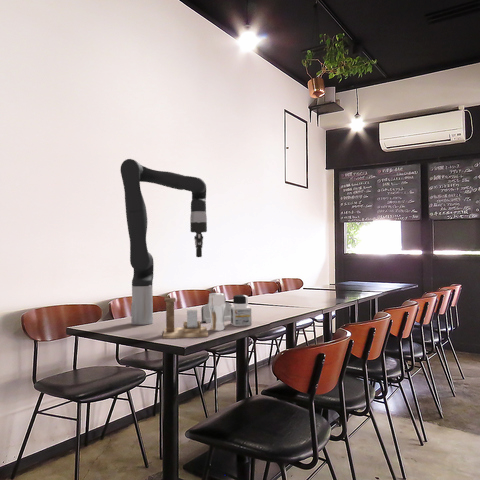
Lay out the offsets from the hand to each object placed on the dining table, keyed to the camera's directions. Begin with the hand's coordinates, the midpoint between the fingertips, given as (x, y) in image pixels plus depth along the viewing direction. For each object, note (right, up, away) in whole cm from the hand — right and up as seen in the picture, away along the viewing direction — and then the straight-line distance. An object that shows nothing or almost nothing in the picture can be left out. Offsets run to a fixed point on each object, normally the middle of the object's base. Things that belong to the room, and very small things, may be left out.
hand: (198, 257), depth 190 cm
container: (+19, -30, -6) cm, 36 cm away
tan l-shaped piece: (-2, -29, -25) cm, 39 cm away
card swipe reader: (+8, -31, +5) cm, 32 cm away
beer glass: (+10, -30, -18) cm, 36 cm away
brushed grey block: (0, -28, -25) cm, 38 cm away
